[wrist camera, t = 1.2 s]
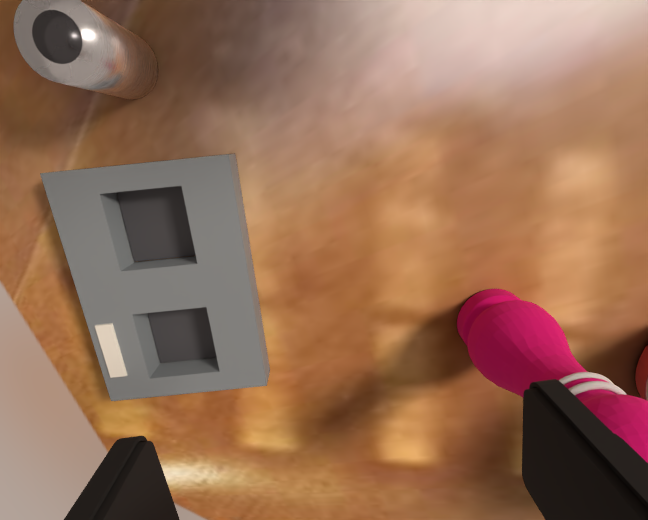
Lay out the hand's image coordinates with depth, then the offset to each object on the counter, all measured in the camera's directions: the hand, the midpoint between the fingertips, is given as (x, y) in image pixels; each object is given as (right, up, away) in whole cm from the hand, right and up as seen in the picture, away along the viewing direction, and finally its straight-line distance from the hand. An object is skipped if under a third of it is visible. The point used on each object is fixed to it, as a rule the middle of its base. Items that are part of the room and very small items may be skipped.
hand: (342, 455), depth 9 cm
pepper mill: (+15, -1, +26) cm, 30 cm away
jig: (-14, +3, +24) cm, 28 cm away
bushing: (-15, +19, +19) cm, 31 cm away
